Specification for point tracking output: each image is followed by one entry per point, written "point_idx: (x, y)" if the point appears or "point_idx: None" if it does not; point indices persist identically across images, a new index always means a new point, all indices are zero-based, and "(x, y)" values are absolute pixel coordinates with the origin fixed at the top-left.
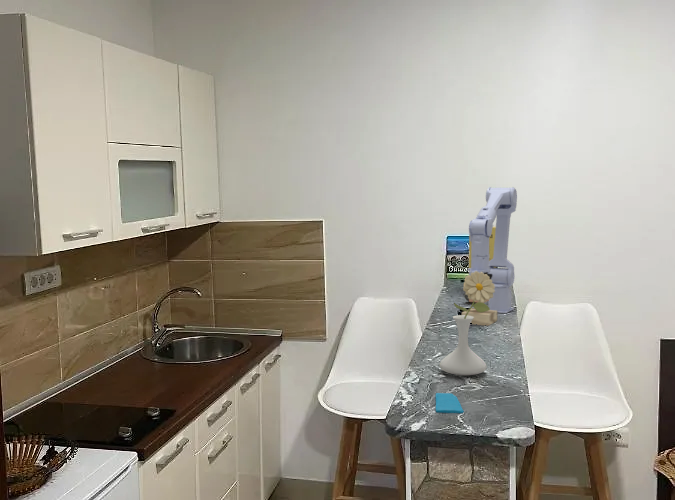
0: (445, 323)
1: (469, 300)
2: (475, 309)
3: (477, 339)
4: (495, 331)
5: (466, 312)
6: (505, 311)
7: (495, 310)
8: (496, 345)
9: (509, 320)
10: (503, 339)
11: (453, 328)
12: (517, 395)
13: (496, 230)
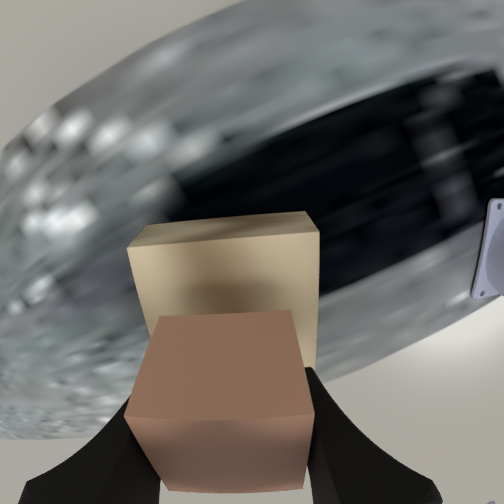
0: (87, 158)
1: (158, 325)
2: (285, 273)
3: (2, 370)
4: (110, 391)
5: (148, 271)
6: (485, 292)
7: (313, 368)
8: (8, 410)
9: (343, 366)
10: (54, 418)
11: (32, 252)
12: None
13: None
